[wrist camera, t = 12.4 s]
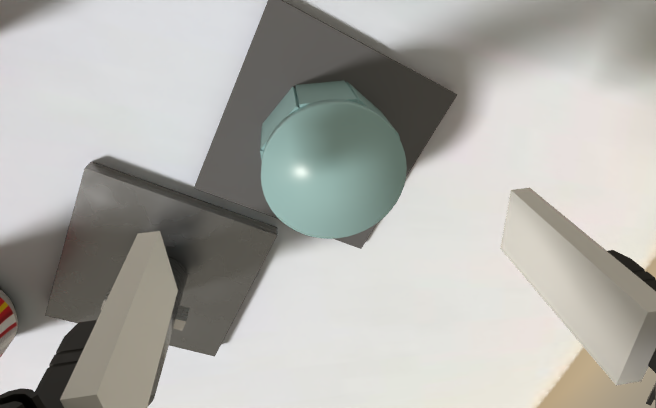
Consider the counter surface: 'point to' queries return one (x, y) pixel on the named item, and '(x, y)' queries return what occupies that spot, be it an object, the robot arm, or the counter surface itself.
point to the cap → (330, 161)
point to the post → (181, 247)
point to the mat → (305, 68)
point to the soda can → (7, 322)
